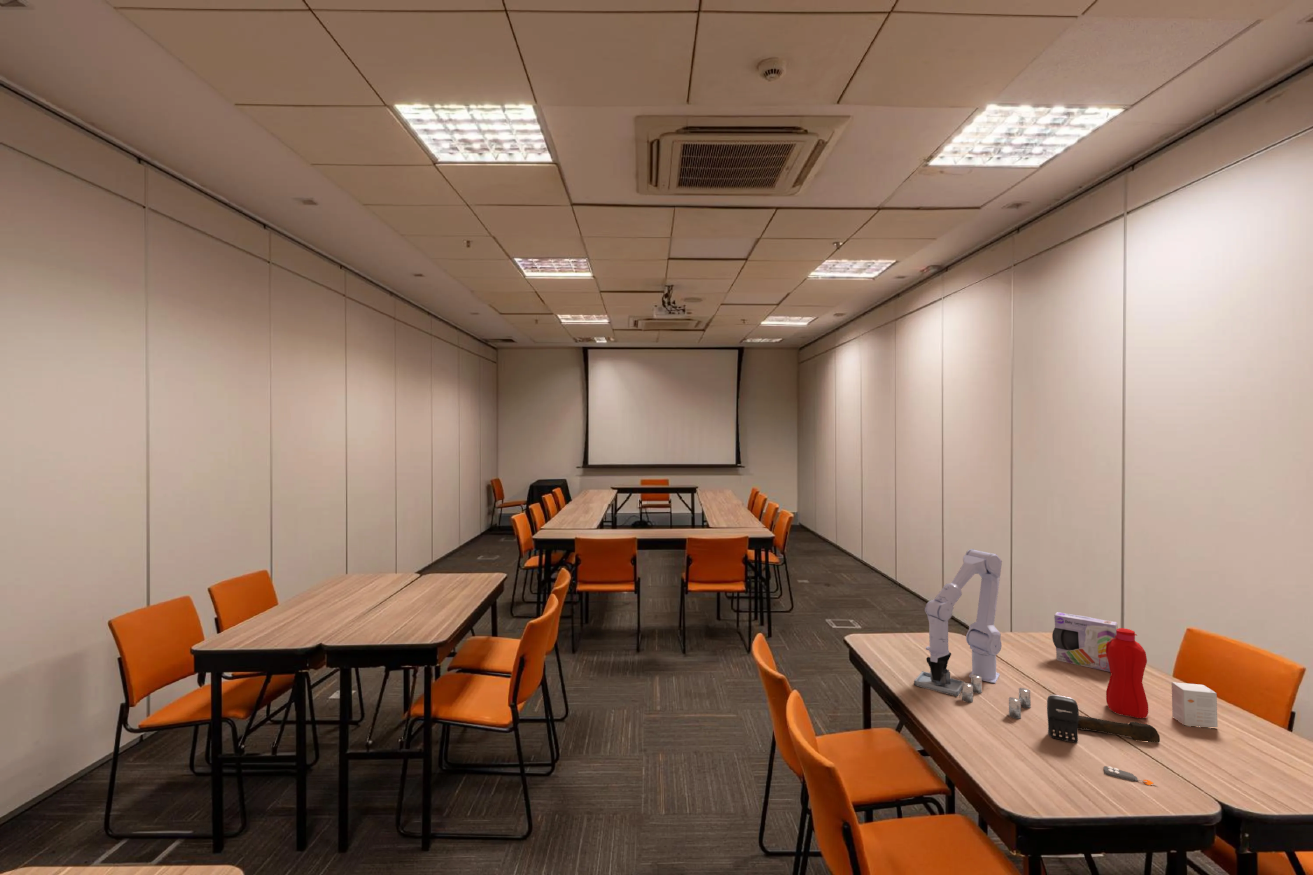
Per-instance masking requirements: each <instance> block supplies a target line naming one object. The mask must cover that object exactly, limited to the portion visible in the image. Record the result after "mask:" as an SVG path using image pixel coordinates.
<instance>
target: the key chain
mask: <svg viewBox="0 0 1313 875" xmlns="http://www.w3.org/2000/svg"><path fill="white" fill-rule="evenodd" d="M1103 773H1104V774H1105V775H1106V776H1110V777H1114V778H1117V779H1122V780H1125V781H1129V782H1130V781H1131V782H1137V783H1138V782H1142V783H1143V784H1145V785H1146V786H1149V785H1151V784H1154V782H1153V781H1151V780H1149V779H1143V780H1142V779H1139V778H1138V776H1136V775H1135V774H1133V773H1132V772H1128V771H1124V770H1121V769H1119V768H1117V767H1112V766H1107V765H1104V766H1103Z"/></svg>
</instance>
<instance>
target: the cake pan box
mask: <svg viewBox="0 0 1313 875" xmlns="http://www.w3.org/2000/svg"><path fill="white" fill-rule="evenodd" d="M1053 619H1054V629H1053V631H1052V637H1051V638H1052V642H1053V645H1054V647H1055V651H1056V652H1055V653H1056V654H1055V655H1056V656H1055V657H1056V661H1059V662H1063V663H1068V664H1073V665H1077V666H1082V667H1086V668H1091V669H1094V670H1099V671H1105V672H1109V673H1110V668H1109V663H1108V659H1107V658H1106V643H1107V642H1108V641H1109V640H1111V639H1112V638H1114V635H1116V630H1117V629H1119V628H1118V621H1112V620H1106V619H1101V618H1095V617H1090V616H1086V615H1079V614H1078V615H1077V614H1072V613H1065V612H1060V611H1056V613H1054V617H1053ZM1104 645H1105V646H1104ZM1103 647H1104V648H1103ZM1102 649H1103V651H1102ZM1101 652H1102V654H1101ZM1100 655H1101V657H1100ZM1099 660H1100V664H1099ZM1106 665H1107V667H1106ZM1100 666H1101V667H1100ZM1105 667H1106V668H1105ZM1102 668H1105V669H1102Z"/></svg>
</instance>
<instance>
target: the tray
mask: <svg viewBox="0 0 1313 875" xmlns="http://www.w3.org/2000/svg"><path fill="white" fill-rule="evenodd" d="M913 682H914V686H916V687H920V688H923V689H927V690H932V691H935V692H939V693H942V694H947V695H951V696H954V697H959V696H960V694H961V693H962V683H965V681H964V680H961V679H957V678H953V677H950V685H946V686H944V685H937V684H936V683H933V682H931V679H930V672H928V671H925V670H922V671H921V672H920V673H919V674H918V676H917V677H915V679H914V681H913Z"/></svg>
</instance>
